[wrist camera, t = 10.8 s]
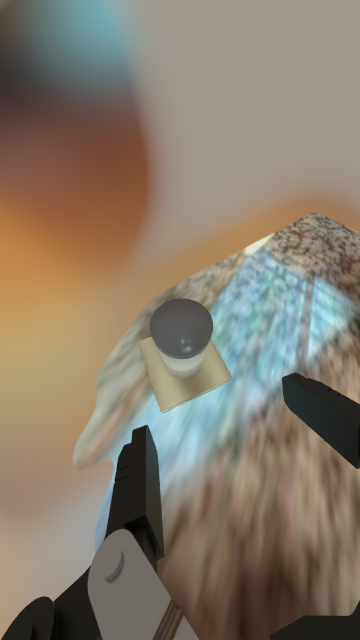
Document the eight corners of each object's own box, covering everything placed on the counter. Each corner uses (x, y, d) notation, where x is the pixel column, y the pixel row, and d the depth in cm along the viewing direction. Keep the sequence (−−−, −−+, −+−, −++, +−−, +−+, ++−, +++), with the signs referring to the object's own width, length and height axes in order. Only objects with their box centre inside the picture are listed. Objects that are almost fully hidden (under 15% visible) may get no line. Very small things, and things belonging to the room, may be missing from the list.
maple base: (197, 328, 30) (198, 318, 27) (226, 383, 25) (232, 377, 22) (143, 349, 28) (138, 341, 25) (163, 412, 24) (160, 411, 21)
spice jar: (192, 335, 26) (195, 291, 17) (210, 369, 23) (225, 337, 14) (157, 349, 25) (142, 310, 16) (171, 387, 22) (163, 364, 13)
